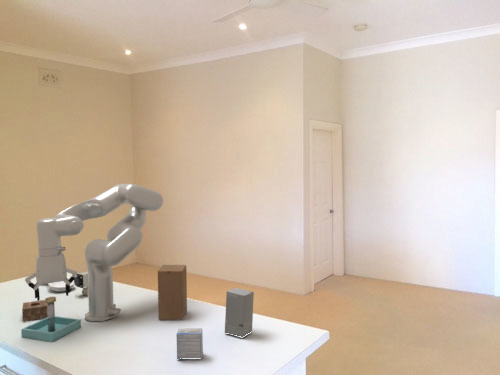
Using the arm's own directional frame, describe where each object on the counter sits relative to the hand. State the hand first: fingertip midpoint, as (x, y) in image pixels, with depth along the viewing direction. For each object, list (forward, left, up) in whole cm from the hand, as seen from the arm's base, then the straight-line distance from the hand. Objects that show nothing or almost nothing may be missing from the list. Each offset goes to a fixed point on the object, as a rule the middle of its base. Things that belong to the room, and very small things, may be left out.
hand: (53, 297), depth 151 cm
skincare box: (-67, -18, -13) cm, 70 cm away
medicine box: (-58, +4, -13) cm, 59 cm away
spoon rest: (+41, -44, -13) cm, 62 cm away
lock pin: (0, +1, -12) cm, 12 cm away
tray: (0, +1, -13) cm, 13 cm away
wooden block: (-35, -27, -13) cm, 46 cm away
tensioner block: (+19, -10, -13) cm, 25 cm away
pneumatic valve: (+18, -40, -13) cm, 46 cm away
